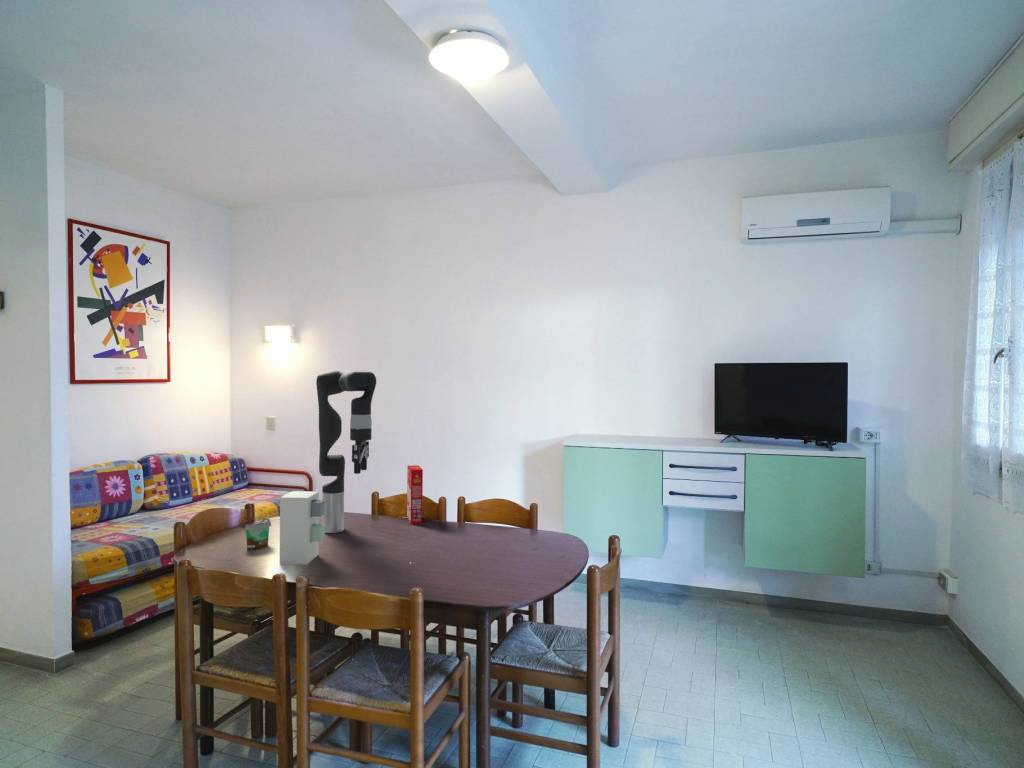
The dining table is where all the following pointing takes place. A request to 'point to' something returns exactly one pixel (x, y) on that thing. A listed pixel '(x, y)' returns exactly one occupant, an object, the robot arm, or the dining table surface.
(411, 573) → the dining table surface
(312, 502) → the grey square block
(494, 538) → the dining table surface
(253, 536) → the food container
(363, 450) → the robot arm
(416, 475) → the food packaging
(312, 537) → the sage key
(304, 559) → the key tower
